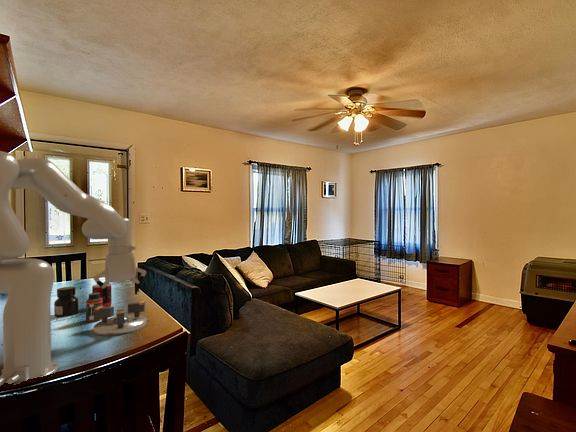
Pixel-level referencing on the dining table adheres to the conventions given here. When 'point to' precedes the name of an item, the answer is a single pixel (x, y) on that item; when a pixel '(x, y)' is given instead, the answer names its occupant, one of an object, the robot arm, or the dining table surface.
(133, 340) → the dining table surface
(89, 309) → the supplement bottle
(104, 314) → the orange-tipped grey bar
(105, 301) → the canned food
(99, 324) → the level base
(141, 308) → the grey and orange block
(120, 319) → the grey chuck jaw
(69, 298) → the ink bottle
